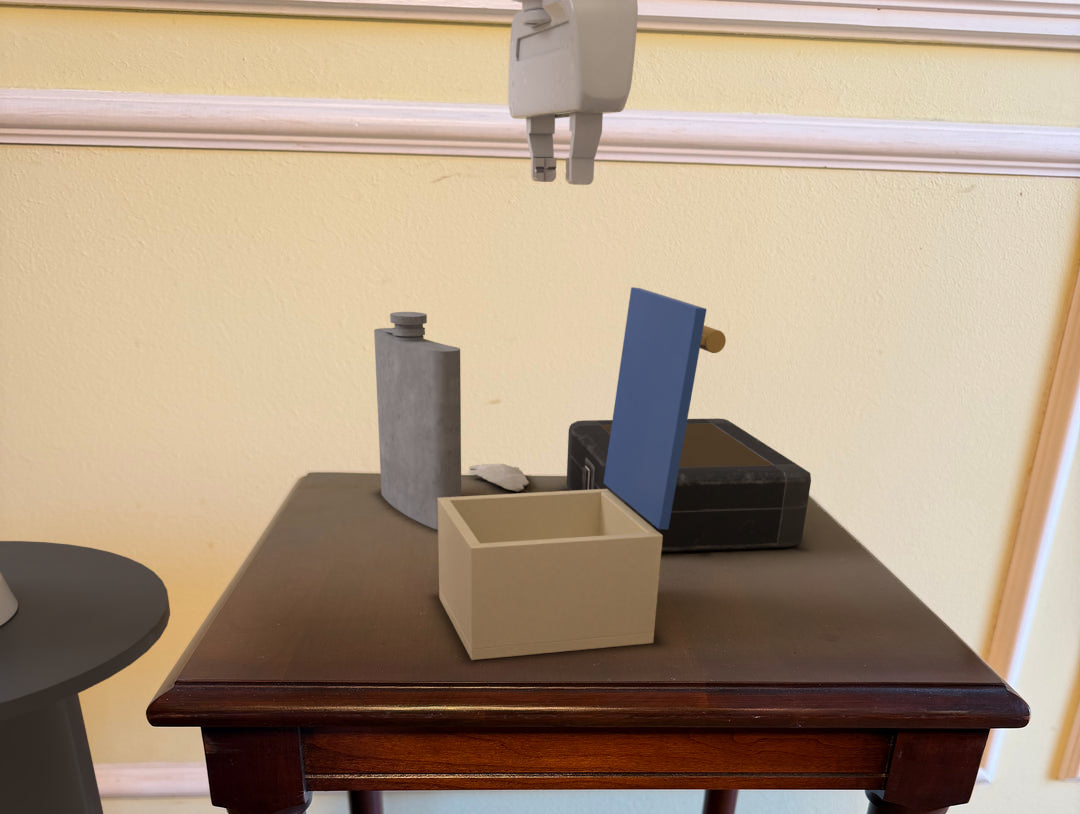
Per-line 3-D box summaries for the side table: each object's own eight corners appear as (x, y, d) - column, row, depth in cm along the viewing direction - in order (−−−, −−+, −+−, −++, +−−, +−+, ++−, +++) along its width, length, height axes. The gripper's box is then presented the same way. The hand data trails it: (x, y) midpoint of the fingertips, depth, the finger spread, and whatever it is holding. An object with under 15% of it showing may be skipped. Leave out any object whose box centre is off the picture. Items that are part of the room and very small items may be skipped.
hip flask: (466, 528, 105) (465, 322, 96) (431, 533, 104) (426, 324, 94) (402, 489, 117) (396, 302, 108) (369, 493, 115) (360, 303, 106)
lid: (696, 307, 70) (756, 313, 71) (630, 287, 80) (684, 292, 82) (658, 529, 77) (714, 531, 78) (603, 483, 87) (652, 485, 89)
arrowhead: (513, 452, 125) (547, 481, 118) (513, 466, 126) (547, 496, 119) (461, 458, 123) (493, 488, 115) (461, 473, 124) (493, 504, 116)
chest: (471, 660, 77) (470, 547, 73) (439, 598, 88) (437, 497, 84) (653, 643, 81) (663, 535, 77) (601, 585, 92) (607, 488, 88)
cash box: (558, 485, 120) (560, 419, 117) (721, 481, 124) (729, 416, 120) (611, 557, 99) (616, 478, 95) (807, 549, 102) (819, 473, 99)
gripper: (489, -13, 83) (490, 179, 90) (566, -56, 66) (560, 186, 73) (563, -8, 85) (559, 180, 91) (657, -49, 67) (643, 187, 74)
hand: (560, 183), depth 82 cm, fingers open, 8 cm apart
